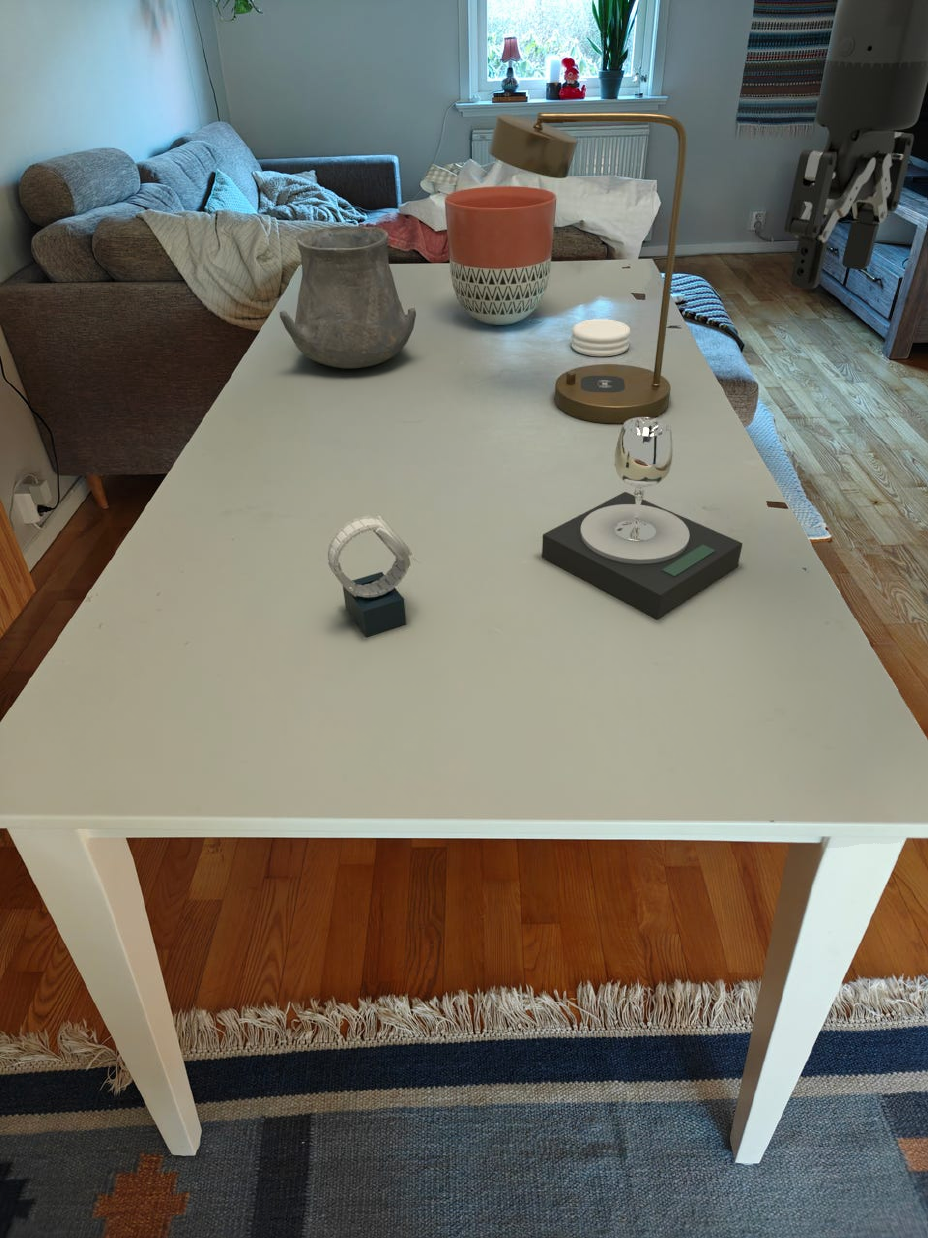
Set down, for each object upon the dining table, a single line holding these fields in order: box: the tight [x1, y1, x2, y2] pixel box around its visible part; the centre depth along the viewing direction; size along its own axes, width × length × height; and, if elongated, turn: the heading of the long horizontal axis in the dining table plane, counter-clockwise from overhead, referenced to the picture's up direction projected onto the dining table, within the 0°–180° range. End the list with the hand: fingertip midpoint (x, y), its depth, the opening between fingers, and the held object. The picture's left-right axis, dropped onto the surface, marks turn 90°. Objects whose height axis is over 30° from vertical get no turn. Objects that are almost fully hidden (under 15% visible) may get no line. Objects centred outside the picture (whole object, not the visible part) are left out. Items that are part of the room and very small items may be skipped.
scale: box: [541, 491, 743, 620], centre depth 92 cm, size 16×14×4 cm
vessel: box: [279, 225, 417, 369], centre depth 141 cm, size 22×22×20 cm
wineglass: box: [614, 417, 674, 541], centre depth 88 cm, size 6×6×12 cm
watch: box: [327, 514, 413, 638], centre depth 83 cm, size 6×8×11 cm
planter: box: [444, 185, 557, 326], centre depth 155 cm, size 20×20×21 cm
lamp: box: [488, 111, 688, 425], centre depth 118 cm, size 17×27×38 cm, turn 83°
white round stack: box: [570, 318, 631, 357], centre depth 147 cm, size 10×10×4 cm
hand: (829, 277), depth 74 cm, fingers open, 8 cm apart
